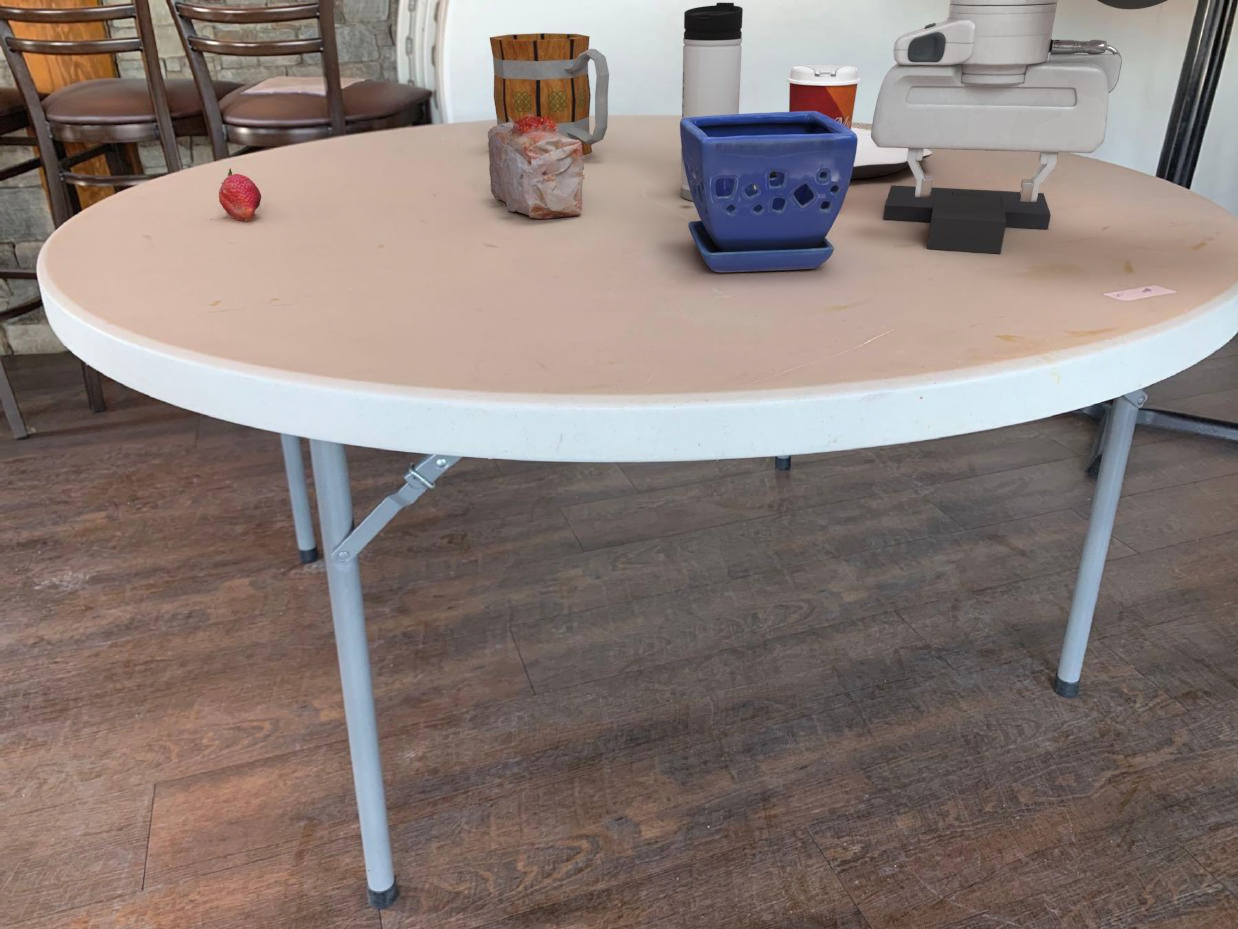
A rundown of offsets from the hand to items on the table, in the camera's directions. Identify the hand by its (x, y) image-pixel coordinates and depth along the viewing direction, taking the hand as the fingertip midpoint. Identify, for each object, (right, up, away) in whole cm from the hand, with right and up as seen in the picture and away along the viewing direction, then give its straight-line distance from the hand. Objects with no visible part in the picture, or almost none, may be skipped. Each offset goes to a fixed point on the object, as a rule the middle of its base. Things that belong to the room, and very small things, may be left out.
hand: (974, 198), depth 92 cm
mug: (-42, +18, +43) cm, 63 cm away
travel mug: (-24, +5, +19) cm, 31 cm away
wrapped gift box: (-43, +3, +15) cm, 46 cm away
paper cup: (-12, +4, +16) cm, 21 cm away
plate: (-8, +15, +36) cm, 40 cm away
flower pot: (-21, -7, -4) cm, 23 cm away
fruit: (-74, +1, +13) cm, 75 cm away
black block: (0, -3, +3) cm, 4 cm away
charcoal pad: (+3, +1, +11) cm, 11 cm away
